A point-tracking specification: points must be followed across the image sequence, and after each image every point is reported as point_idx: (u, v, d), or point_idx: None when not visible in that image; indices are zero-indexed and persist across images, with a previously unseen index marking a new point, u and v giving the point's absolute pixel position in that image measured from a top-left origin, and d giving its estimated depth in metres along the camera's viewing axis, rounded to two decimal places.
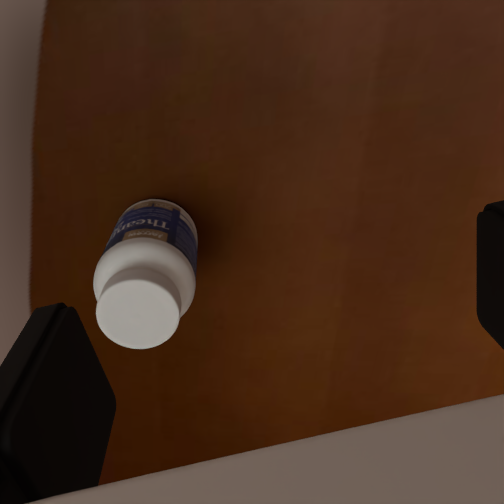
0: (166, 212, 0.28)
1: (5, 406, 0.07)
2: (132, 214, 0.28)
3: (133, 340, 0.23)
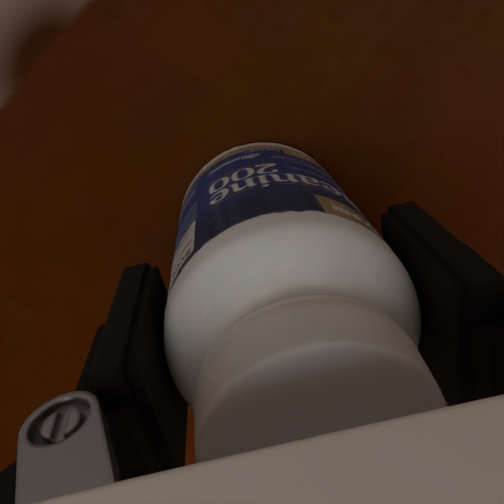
0: None
1: (126, 342, 0.08)
2: (292, 161, 0.13)
3: None
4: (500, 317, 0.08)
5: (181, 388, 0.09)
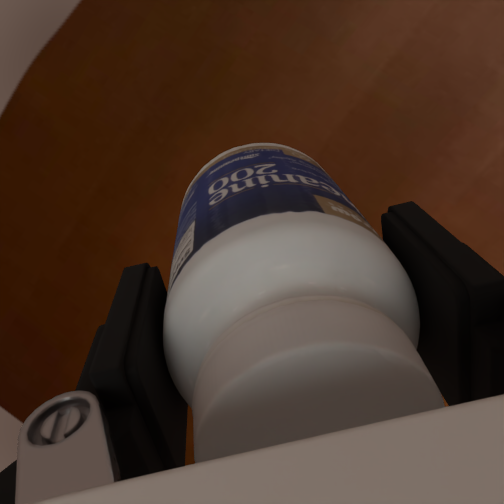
0: None
1: (126, 342, 0.08)
2: (291, 161, 0.13)
3: None
4: (500, 317, 0.08)
5: (180, 388, 0.09)
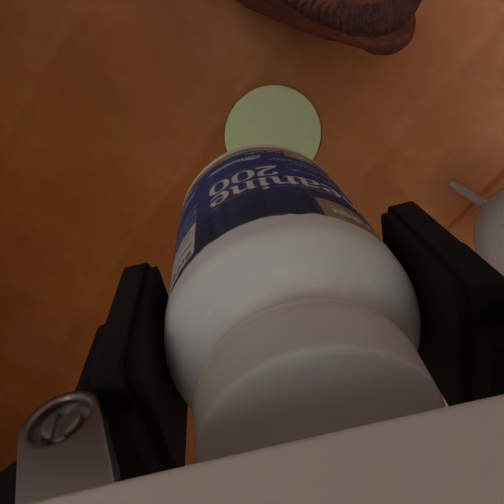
0: None
1: (126, 342, 0.08)
2: (292, 163, 0.13)
3: None
4: (500, 317, 0.08)
5: (181, 390, 0.09)
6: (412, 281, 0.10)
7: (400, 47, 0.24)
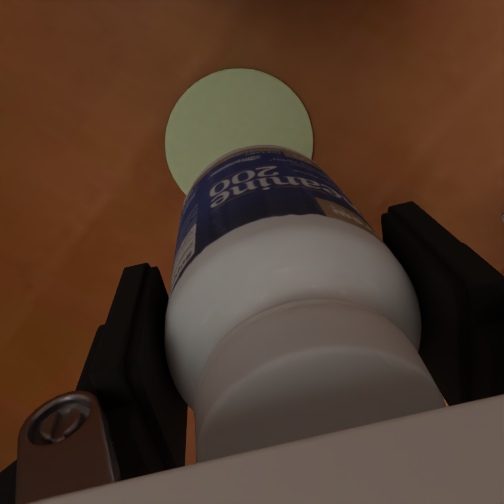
0: None
1: (126, 342, 0.08)
2: (292, 163, 0.13)
3: None
4: (500, 317, 0.08)
5: (182, 391, 0.09)
6: (412, 281, 0.10)
7: None
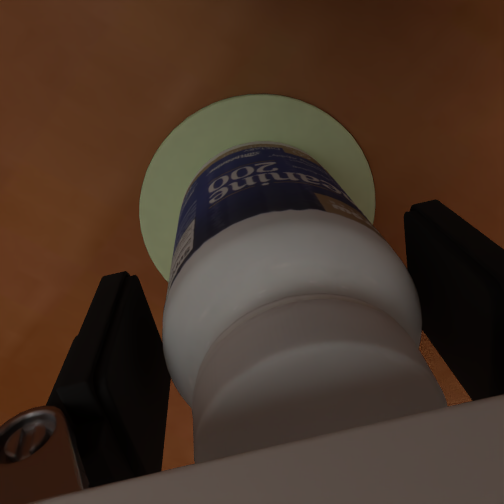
0: None
1: (97, 355, 0.08)
2: (292, 159, 0.12)
3: None
4: None
5: (180, 388, 0.09)
6: (438, 280, 0.10)
7: None
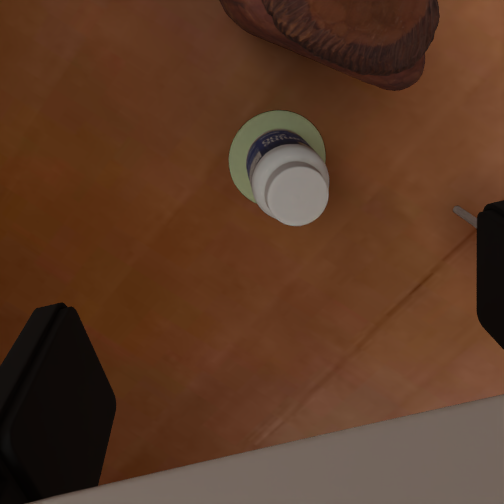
0: None
1: (5, 406, 0.07)
2: (291, 134, 0.35)
3: (280, 211, 0.30)
4: None
5: (257, 197, 0.32)
6: None
7: (409, 84, 0.24)
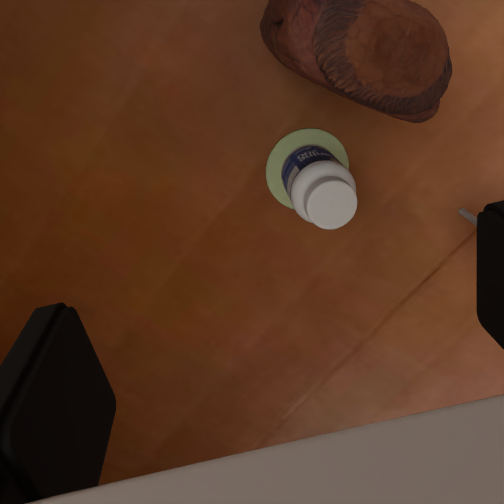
0: None
1: (5, 406, 0.07)
2: (321, 149, 0.41)
3: (317, 217, 0.36)
4: None
5: (296, 204, 0.38)
6: None
7: (427, 119, 0.30)
